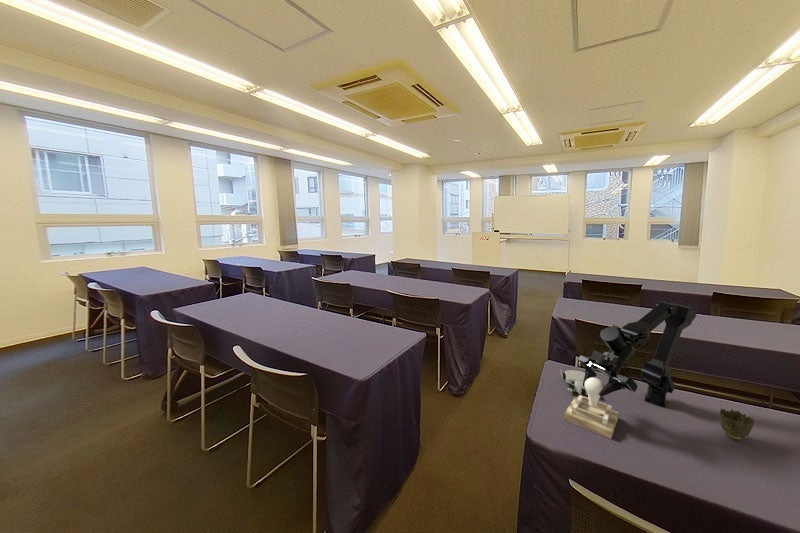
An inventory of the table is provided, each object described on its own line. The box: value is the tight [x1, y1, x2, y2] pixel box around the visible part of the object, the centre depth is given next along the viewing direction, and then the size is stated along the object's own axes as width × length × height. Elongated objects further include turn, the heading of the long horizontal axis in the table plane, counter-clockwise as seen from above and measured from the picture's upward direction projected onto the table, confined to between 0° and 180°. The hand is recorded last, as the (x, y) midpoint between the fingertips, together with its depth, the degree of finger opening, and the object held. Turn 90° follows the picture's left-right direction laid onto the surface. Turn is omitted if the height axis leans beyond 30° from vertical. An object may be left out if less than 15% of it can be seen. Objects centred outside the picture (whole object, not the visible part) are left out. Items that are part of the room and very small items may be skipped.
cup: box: [719, 408, 755, 442], centre depth 98 cm, size 8×7×8 cm
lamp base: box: [563, 394, 620, 440], centre depth 108 cm, size 14×14×5 cm
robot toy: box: [560, 369, 588, 396], centre depth 128 cm, size 12×4×15 cm
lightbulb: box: [584, 377, 606, 408], centre depth 107 cm, size 6×6×11 cm
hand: (591, 390), depth 106 cm, fingers closed on lightbulb, 6 cm apart
